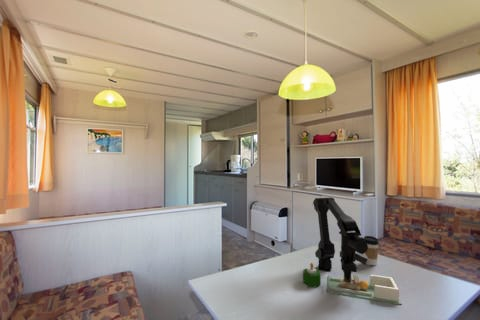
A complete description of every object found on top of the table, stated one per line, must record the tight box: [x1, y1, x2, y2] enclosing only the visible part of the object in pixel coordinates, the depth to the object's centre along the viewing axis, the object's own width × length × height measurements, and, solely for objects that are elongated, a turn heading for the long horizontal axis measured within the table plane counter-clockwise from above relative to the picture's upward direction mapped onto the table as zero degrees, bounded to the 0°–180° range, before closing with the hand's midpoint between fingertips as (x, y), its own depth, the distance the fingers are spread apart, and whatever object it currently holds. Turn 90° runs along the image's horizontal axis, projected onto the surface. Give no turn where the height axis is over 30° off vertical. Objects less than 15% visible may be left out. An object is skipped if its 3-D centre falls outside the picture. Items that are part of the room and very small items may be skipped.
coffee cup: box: [363, 235, 380, 266], centre depth 142 cm, size 8×8×15 cm
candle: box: [302, 262, 322, 288], centre depth 120 cm, size 8×8×10 cm
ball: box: [359, 280, 369, 290], centre depth 113 cm, size 4×4×4 cm
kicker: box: [340, 273, 361, 291], centre depth 115 cm, size 8×7×8 cm
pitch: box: [327, 274, 402, 306], centre depth 113 cm, size 29×15×5 cm, turn 71°
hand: (347, 278), depth 115 cm, fingers closed on kicker, 3 cm apart
